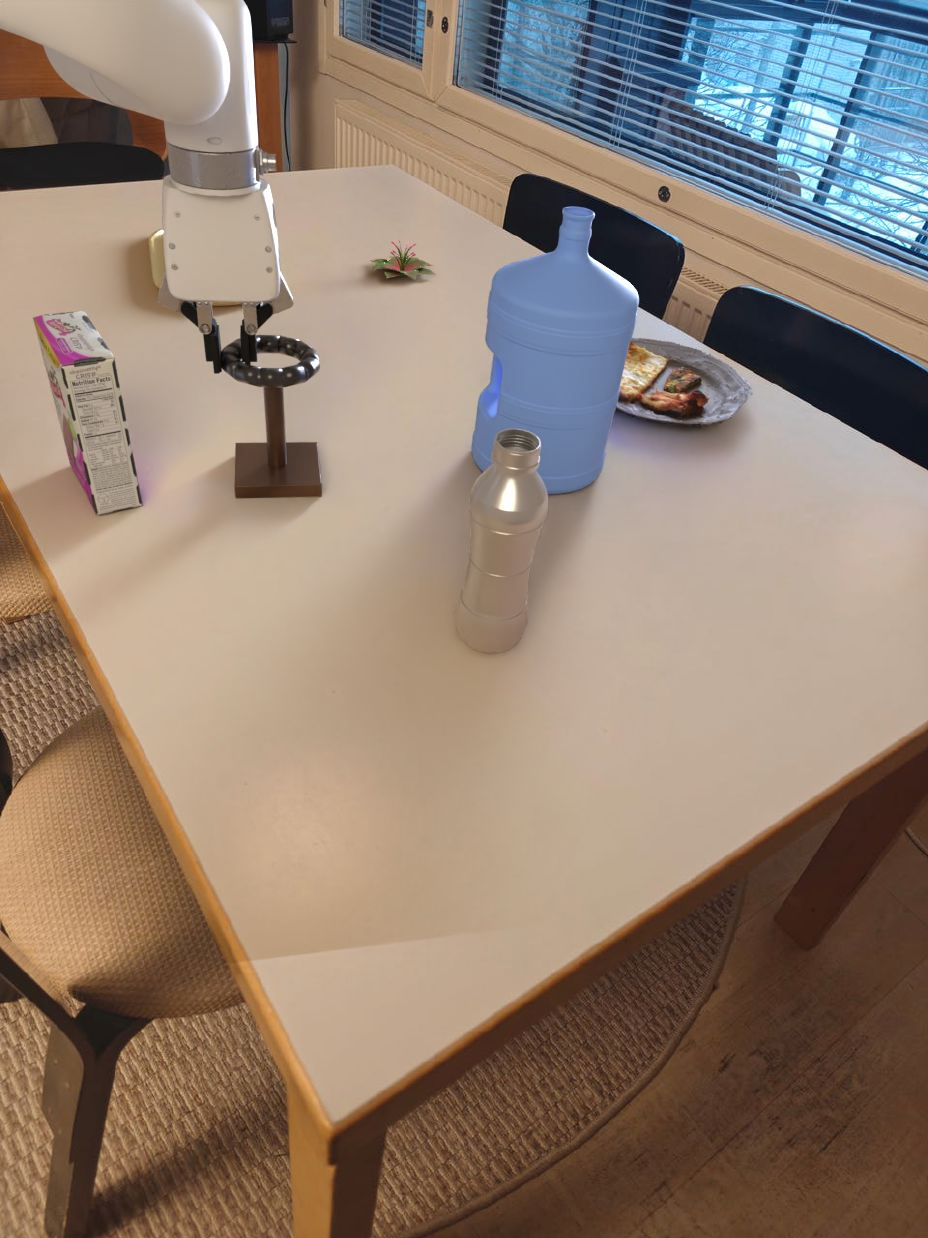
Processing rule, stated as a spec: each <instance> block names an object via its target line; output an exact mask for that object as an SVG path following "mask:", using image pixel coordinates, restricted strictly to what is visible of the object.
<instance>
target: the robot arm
mask: <svg viewBox="0 0 928 1238" xmlns="http://www.w3.org/2000/svg"><path fill="white" fill-rule="evenodd" d="M0 30H3V31H6V32H8V33H11V34H13V35H16V36H20V37H22V38H24V39H26V40H28V41H29V40H30V41H32V42H34V43H36V44H38V45H40V46H41V45H42V46H43V50H44V52H45V55H46V57H47V59H48V62H49V63H50V65H51V66H52V68H53V69H54V71H55V72H56V74H57V75H58V76H59V77H60V78H61V79H62V80H63V81H64V82H65V83H66V84H67V85H68V86H69V87H71V88H72V89H74V90H75V91H77V92H78V93H80V94H81V95H84V96H85V97H87V98H89V99H92V100H95V101H97V102H101V103H103V104H104V103H105V104H107V105H110V106H113V107H117V108H121V109H123V110H129V111H132V112H134V113H138V114H141V115H145V116H149V117H152V118H155V119H157V120H161V121H163V126H164V133H165V143H166V152H167V159H168V167H169V168H168V169H169V174H168V175H165V176H164V177H163V180H162V189H161V191H162V192H161V220H162V228H163V243H164V256H165V267H166V272H165V275H164V279H163V282H162V285H161V288H160V289H159V291H158V295H157V302H158V304H159V305H160V306H163V307H165V308H168V309H170V310H172V311H175V312H179V313H181V314H182V315H183V316H184V317H185V318H187V320H189V321H190V322H191V323H192V324H193V325H195V326H196V327H197V328H198V331H199V332H200V333H201V334H202V336H203V345H204V355H205V362H207V363H208V362H209V363H210V362H212V366H213V374H216V375H218V374H220V373H222V372H223V369H222V367H221V351H222V344H221V332H220V325H219V324H218V323H217V319H216V318H215V317H214V315H213V306H212V302H231V303H242V304H241V306H242V313H243V318H242V320H241V325H240V329H239V331H240V332H239V338H240V341H241V353H242V359H241V361H242V362H243V363H245V364H249V365H252V364H251V363H258V354H257V347H256V335H257V333H258V332H259V329H260V328H261V327H263V325H264V324H265V323H266V322H267V321H269V319H270V318H271V317H272V316H273V315H275V314H279V313H281V312H284V311H286V310H288V309H291V308H293V306H294V297H293V294H292V292H291V290H290V288H289V286H288V283H287V282H286V280H285V278H284V276H283V274H282V271H281V261H280V259H281V257H280V248H279V238H278V237H279V236H278V227H277V218H276V212H275V211H276V210H275V206H274V199H273V195H272V190H271V187H270V184H269V182H268V181H267V180H266V179H263V178H261V177H262V176H264V173H268V172H277V154H276V153H268V152H267V151H263V148H262V147H259V134H258V132H259V131H258V118H257V117H258V115H257V99H256V82H255V65H254V47H253V30H252V19H251V13H250V10H249V8H248V5H247V4H246V2H245V1H244V0H0Z"/></svg>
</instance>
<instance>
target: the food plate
mask: <svg viewBox="0 0 928 1238" xmlns="http://www.w3.org/2000/svg"><path fill="white" fill-rule="evenodd" d="M752 388H753V387H752V386H751V385H750V383H748V381H747V379H745V378H744V377H743V376H742V375H741V374H739V372H738V371H737V370H736V369H734V368H733V366H730V365H729V364H728V363H727V362H725V361H723V360H721V359H720V358H717V357H715V356H713V355H712V354H711V353H707V352H706V351H704V352H703V351H702V350H700V349H697V348H694V347H689V346H686V345H683V344H680V343H676V342H674V341H668V340H667V341H666V340H660V339H659V340H658V339H652V338H647V337H646V338H645V337H632V339H631V341H630V344H629V348H628V353H627V357H626V362H625V366H624V370H623V375H622V379H621V383H620V394H619V398H618V403H617V406H616V409H615V410H617V411H620V412H622V413H625V414H626V415H628V416H630V417H632V418H637V419H640V420H645V421H648V422H654V423H660V424H661V423H665V424H671V425H672V424H673V425H677V426H681V427H689V426H692V427H699V429H701V427H709V426H711V425H712V424H713V423H716V424H717V425H721V424H723V423H724V422H727V421H728V420H730V419H731V418H732V417H733V416H734V415H735V413H737V411H739V410H740V409H741V407H742V406H743V404H745V403H746V401H747V400H748V398H749V397H750V396H752V395H753V389H752Z"/></svg>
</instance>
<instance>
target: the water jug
mask: <svg viewBox="0 0 928 1238" xmlns="http://www.w3.org/2000/svg"><path fill="white" fill-rule="evenodd" d="M561 213H562V222H561V225H560V226H559V230H558V242H557V246H556V248H555V249H554V250H553V251H549V252H546V253H542V254H539V255H536V256H532V257H531V256H530V257H528V258H524V259H521V260H517V261H514V262H510V263H508V264H506V265H503V266H501V267H500V268H498V270H496V272H495V273H494V275H493V277H492V279H491V287H490V290H489V294H488V297H487V298H488V299H487V307H486V321H487V322H486V329H485V336H484V341H485V344H486V346H487V348H488V350H489V351H490V352H491V353H492V354H493V355H492V356H493V357H492V363H491V370H490V371H491V372H490V380H489V383H488V385H487V386H486V387H484V389H483V390H482V391H481V392H480V393H479V396H478V400H477V405H476V415H475V424H474V430H473V433H472V439H471V447H470V448H471V455H472V458H473V461H474V462H475V464H476V466H477V467H478V468H479V469H480V470H481V472H482V473H483V472H484V471H485V470H486V469H487V468H488V467H489V466H491V465H492V462H491V453H492V450H493V446H494V439H495V436H496V434H497V433H499V432H500V431H502V430H506V429H522V430H526V431H529V432H532V433H533V434H535V435H537V436H538V437H539V438H540V440H541V450H540V464H539V467H538V468H537V469H536V471H537V472H538V474H539V475H540V477H541V479H542V481H543V483H544V485H545V487H546V489H547V493H548V495H561V494H562V495H563V494H569V493H573V492H577V491H580V490H582V489H584V488H586V487H588V486H589V485H591V484H592V483H594V482H595V481H596V480H597V479H598V477H599V476H600V474H601V473H602V471H603V468H604V463H605V458H606V448H607V444H608V439H609V436H610V431H611V427H612V424H613V423H612V422H613V418H614V413H615V412H616V410H617V409H616V406H617V403H618V398H619V394H620V383H621V379H622V375H623V370H624V366H625V362H626V357H627V353H628V348H629V344H630V341H631V339H632V338H633V335H634V334H635V333H634V332H635V328H636V324H637V319H638V309H639V304H640V297H639V294H638V291H637V289H636V288H635V287H634V285H632V284H631V282H629V280H627V279H626V278H624V277H622V276H621V275H619V274H617V273H616V272H614V271H613V270H611V269H609V267H606V266H605V265H603V264H602V263H600V262H599V261H597V260H595V259H594V258H593V257H591V256H590V255H589V244H590V239H591V237H592V223H593V220H594V219H595V218H596V217H595V216H596V213H595V212H594V211H593V210H591V209H589V208H586V207H581V206H565V207H563V208H562V212H561Z"/></svg>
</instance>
